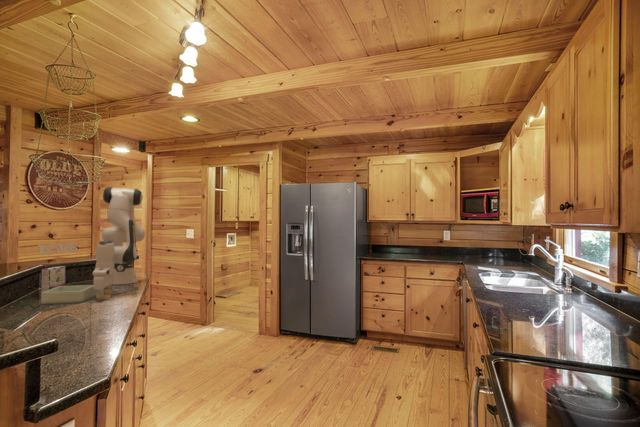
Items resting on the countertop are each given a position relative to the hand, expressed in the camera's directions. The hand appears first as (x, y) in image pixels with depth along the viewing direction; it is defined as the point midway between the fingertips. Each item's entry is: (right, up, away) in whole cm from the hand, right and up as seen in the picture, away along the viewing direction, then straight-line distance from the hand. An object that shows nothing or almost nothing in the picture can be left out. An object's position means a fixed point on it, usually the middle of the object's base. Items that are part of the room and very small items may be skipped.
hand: (104, 295), depth 183 cm
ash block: (0, -2, 0) cm, 2 cm away
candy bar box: (-29, -2, +1) cm, 29 cm away
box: (-15, -1, -5) cm, 16 cm away
